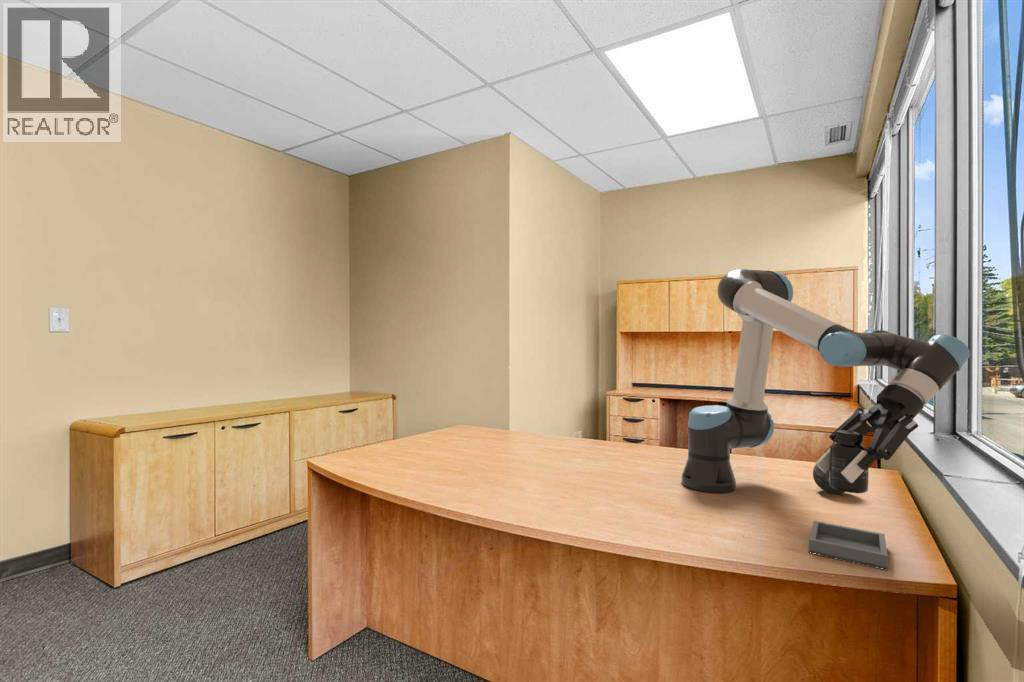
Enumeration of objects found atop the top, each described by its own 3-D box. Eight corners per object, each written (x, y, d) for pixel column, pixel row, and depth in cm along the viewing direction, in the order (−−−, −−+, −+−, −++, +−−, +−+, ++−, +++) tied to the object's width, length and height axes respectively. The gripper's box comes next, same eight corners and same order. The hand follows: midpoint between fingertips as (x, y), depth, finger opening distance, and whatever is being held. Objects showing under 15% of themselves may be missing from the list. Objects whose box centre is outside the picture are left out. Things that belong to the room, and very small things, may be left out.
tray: (809, 553, 104) (809, 539, 104) (813, 532, 115) (813, 520, 115) (887, 570, 97) (887, 555, 97) (884, 547, 107) (884, 534, 107)
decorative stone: (840, 488, 149) (841, 454, 149) (861, 499, 139) (862, 463, 139) (805, 487, 150) (806, 453, 149) (824, 498, 140) (825, 462, 139)
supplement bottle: (874, 495, 101) (876, 436, 101) (837, 492, 103) (838, 434, 103) (858, 485, 108) (859, 429, 108) (823, 483, 110) (824, 428, 109)
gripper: (962, 415, 97) (883, 500, 96) (878, 401, 117) (812, 472, 115) (938, 387, 96) (858, 473, 95) (858, 378, 116) (790, 449, 115)
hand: (833, 472), depth 105 cm, fingers closed on supplement bottle, 7 cm apart
